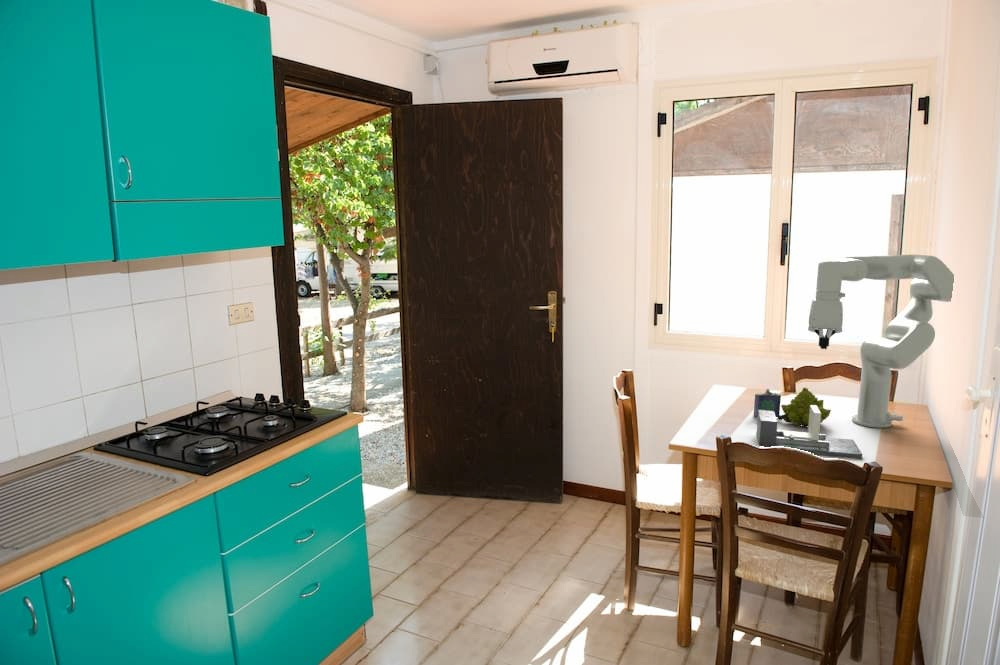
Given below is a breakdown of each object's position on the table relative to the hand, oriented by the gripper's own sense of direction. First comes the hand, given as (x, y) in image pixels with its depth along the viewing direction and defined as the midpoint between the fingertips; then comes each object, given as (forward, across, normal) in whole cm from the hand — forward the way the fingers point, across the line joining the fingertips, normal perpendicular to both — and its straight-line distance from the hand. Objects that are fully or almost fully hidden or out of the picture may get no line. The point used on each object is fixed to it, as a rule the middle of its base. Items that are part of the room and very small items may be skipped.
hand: (823, 348), depth 229 cm
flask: (+29, +16, -9) cm, 35 cm away
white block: (+27, +8, +22) cm, 36 cm away
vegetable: (+29, +3, -3) cm, 30 cm away
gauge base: (+29, +6, +21) cm, 36 cm away
